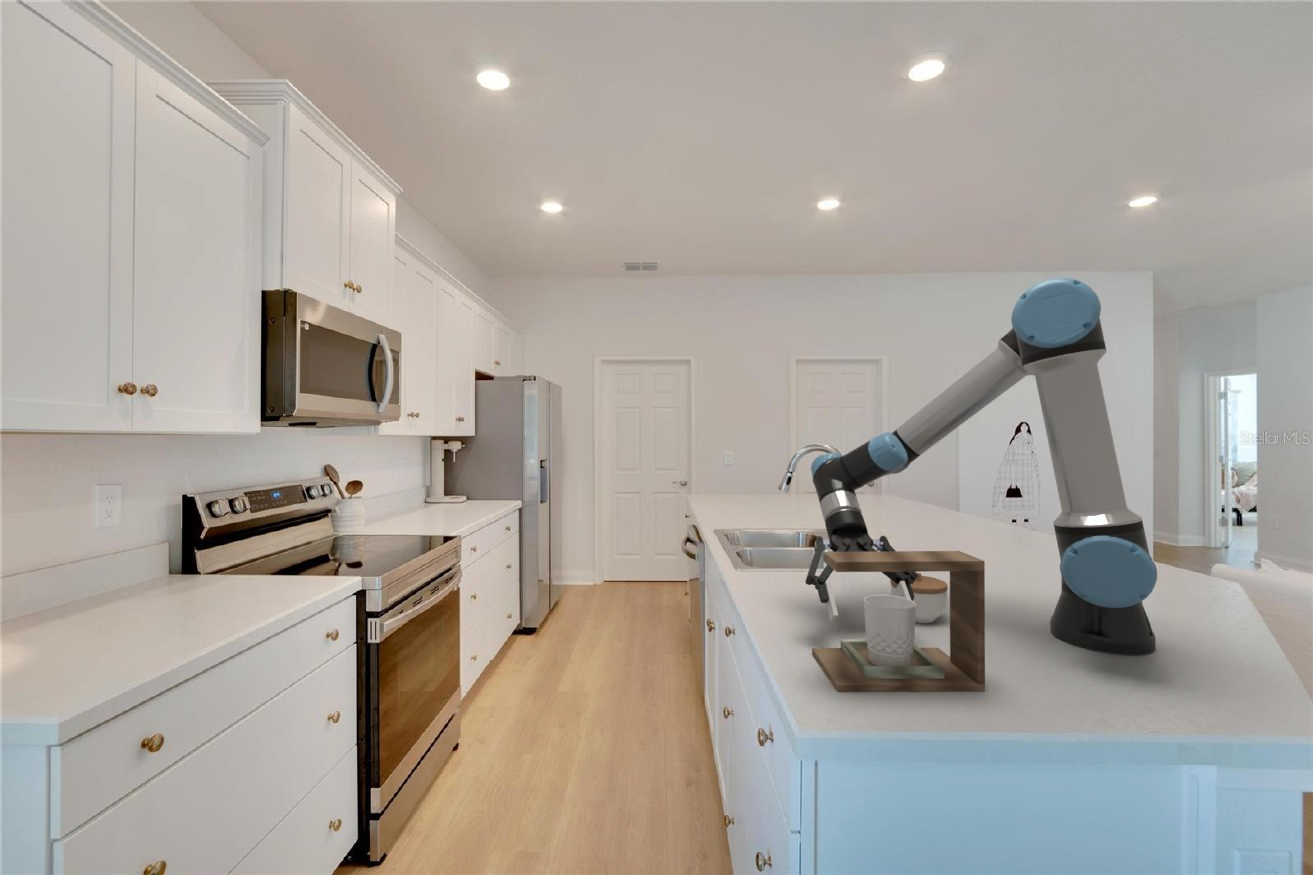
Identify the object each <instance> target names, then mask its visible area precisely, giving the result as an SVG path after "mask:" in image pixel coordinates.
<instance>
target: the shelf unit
mask: <svg viewBox="0 0 1313 875" xmlns="http://www.w3.org/2000/svg"><path fill="white" fill-rule="evenodd" d="M822 562H824V563H825V565H826V566H827V565H829V566H830V567H831V568H832V569H834V570H833V571H835V572H836V573H872V572H873V573H882V572H916V573H921V572H925V573H926V572H949V653H950V654H949V655H948V654H947V653H945V652H944V651H943V650H942V649H940V648H939V647H919V646H918V645H917V644H916V643H914V648H913V664H912V666H875V665H874V664H872V663H871V662H869V659H868V652H867V642H866V638H865V639H864V638H863V639H862V638H861V639H858V638H857V639H856V638H855V639H853V638H852V639H851V638H850V639H845V638H844V639H840V647H812V648H811V655H812V657H814V659H815V660H816V662H817V663H818V665H819V667H821V669H822V671H823V672H824V674H825V675H826V677H827V678H828V679H829V681H830V682H831V684H832V686H833V687H834V688H835V690H836V691H837V692H843V693H844V692H846V691H847V692H849V691H850V692H985V691H986V655H985V654H986V632H985V630H986V625H985V624H986V618H985V615H986V611H985V610H986V609H985V608H986V606H985V605H986V604H985V602H986V600H985V599H986V598H985V596H986V595H985V594H986V592H985V586H986V584H985V574H986V573H985V572H986V571H985V570H986V569H985V568H986V567H985V566H986V565H985V562H986V561H985V560H983V559H980V558H978V557H975V556H973V555H970V554H967V553H966V552H963V551H960V550H921V551H920V550H918V551H917V550H916V551H915V550H908V551H905V550H904V551H903V550H899V551H897V550H895V551H876V552H833V551H823V552H822Z"/></svg>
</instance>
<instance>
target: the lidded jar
mask: <svg viewBox="0 0 1313 875" xmlns="http://www.w3.org/2000/svg"><path fill="white" fill-rule="evenodd" d="M916 573H917V574H918V577H917V579H916V580H915V582H914V583H913V584H910V585H911V588H912V591H913V594H914V600H913V602H915V604H916V616H915V624H916V623H918V624H933V623H934V622H936V620H937V619H938V618H939V617H941V615H942V614H943V613H944V612H945V611H944V610H945V608H946V605H947V601H948V599H947V598H948V587H949V586H948V583H947V582H946V581H944V580H943V579H942V580H941V579H938V578H936V577H931V576H927V575H926V576H925V575H922V573H921V572H916ZM889 579H890V578H889ZM896 587H897V584H896V583H895V582H894V581H892V580H891V579H890V593H891V594H890V595H893V596H898V594H897V591H896Z"/></svg>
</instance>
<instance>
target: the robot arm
mask: <svg viewBox="0 0 1313 875" xmlns="http://www.w3.org/2000/svg"><path fill="white" fill-rule="evenodd" d="M1100 301H1101V300H1100V297H1099V296H1098V294H1097V293H1096V292H1095V291H1094V290H1093V289H1092V288H1091V287H1090V286H1089V285H1087V284H1086V283H1085V282H1082V281H1080V280H1077V279H1075V278H1069V277H1055V278H1050V279H1046V280H1043V281H1040V282H1038V283H1036V284H1034V285H1032V286H1031V287H1029V288H1028V289H1027V290H1025V291H1024V292H1023V293H1022V294H1021V295H1020V296H1019V298H1018V299H1017V301H1016V303H1015V305H1014V307H1013V310H1012V312H1011V326H1012V328H1011V329H1010V330H1009V331H1008V332H1007V333H1005V335H1003V336H1002V337H1001V338H1000V339H998V340H997V341H998V344H997V348H995V349H994V350H993V351H992V352H991V353H989V354H988V355H987V356H986V357H985V358H983V359H982V360H981V361H980V362H979V363H977V364H976V365H974V366H973V367H971V369H969V370H968V371H967V372H966V373H965V374H963V375H962V376H961V377H960V378H958V379H957V380H956V381H955V382H953V383H952V384H951V385H949V387H947V388H946V389H945V390H943V391H942V392H941V393H940V394H939V395H937V396H936V397H935V398H934V399H932V400H931V401H929V402H928V403H927V404H926V405H925V406H923V407H922V408H920V410H918V411H917V412H916V413H915V414H914V415H913V416H911V417H910V418H908V419H907V420H906V421H905V422H904V423H902V424H901V425H900V426H899V427H897V428H896V429H895V430H894V431H893V432H890V431H885V432H883V433H881V434H880V435H877V436H875V437H872V438H870V440H868V441H866V442H864V443H862V444H861V445H860V446H858V447H856V448H855V449H853V450H850V451H849V452H848V453H846V454H843V455H841V454H839V453H838V452H837V453H836V452H828V453H827V454H826V453H825V454H823V453H822V454H820V455H818V456H817V457H815V459H814V460H812V463H811V466H810V467H811V468H810V470H811V475H812V483H813V486H814V488H815V491H816V495H817V498H818V501H819V506H820V509H821V510H820V511H821V514H822V518H823V521H824V523H825V524H824V525H825V529H826V533H827V538H828V539H824V538H823V536H820V535H818V536H816V539H815V542H814V544H813V545H814V546H813V548H814V554H813V558H812V560H811V563H810V565H809V569H808V572H807V575H806V579H805V584H806V585H808V586H811V585H812V586H814V589H815V590H817V593H818V598H819V601H820V602H821V603H822V604H826V610H827V613H828V618H829V621H830V623H836V620H837V619H838V617H839V613H838V608H837V603H836V600H835V596H834V593H833V589H832V585H831V581H827V580H828V579H829V578H830V576H831V575H832V573H833V571H835V570H834V569H832V568H831V567H830V566H829V565H827V564H826V566H825V567H824V569H823V570H822V572H821V573H820V574H819V576H818V575H816V573H817V570H818V568H819V567H818V566H819V564H820V560H821V558H822V556H823V552H825V551H826V549H827V547H828V548H829V549H830V550H832V551H831V552H876V551H896V550H895V549H894V547H893V546H892V545H891V543H890V541H889V539H888V537H887V536H886V535H881V536H880V537H879V538H874V539H873V538H872V537H871V536H870V535H869V531H868V528H867V527H868V526H867V525H866V522H865V519H864V516H863V513H862V509H861V507H860V503H859V500H858V497H857V494H856V490H858V489H860V488H863V487H864V486H866V485H868V484H870V483H872V482H874V481H876V480H879V479H880V478H881V477H885V476H889V475H895V474H900V473H901V472H903V471H904V470H906V469H908V467H909V466H910V465H911V463H913V462H914V461H915V460H917V459H918V458H919V457H920V456H921V455H923V454H924V453H925V452H926V451H928V450H929V449H931V448H932V447H933V446H935V445H936V444H937V443H939V442H940V441H941V440H943V439H944V438H946V437H947V436H948V435H949V434H951V433H952V432H954V431H955V430H956V429H957V428H959V427H960V426H961V425H963V424H964V423H965V422H967V421H969V419H971V418H972V417H973V416H975V415H976V414H978V413H979V412H980V411H981V410H983V409H984V408H985V407H986V406H988V405H989V404H990V403H992V402H994V401H995V400H997V398H998V397H1001V395H1003V394H1004V393H1005V392H1006V391H1008V390H1009V389H1011V387H1013V386H1015V385H1016V384H1017V383H1018V382H1020V381H1021V380H1023V379H1025V377H1027V376H1033V377H1034V376H1035V382H1036V387H1037V393H1038V397H1039V402H1040V408H1041V413H1042V417H1043V423H1044V428H1045V434H1046V438H1047V443H1048V448H1049V453H1050V458H1051V464H1052V469H1053V473H1054V478H1055V483H1056V488H1057V492H1058V498H1059V502H1060V508H1061V512H1060V515H1058V517H1056V518H1055V520H1053V521H1052V522H1053V527H1054V533H1055V534H1054V535H1055V537H1056V538H1055V539H1056V543H1057V548H1058V554H1059V559H1060V563H1059V571H1060V575H1061V592H1060V595H1059V598H1058V600H1057V602H1056V604H1055V605H1056V606H1055V607H1054V611H1053V615H1052V616H1050V623H1049V624H1050V626H1049V627H1050V628H1049V630H1050V633H1051V634H1052V635H1053V636H1054V637H1056V638H1058V639H1059V640H1062V641H1064V642H1066V643H1070V644H1072V645H1074V646H1078V647H1081V648H1084V649H1089V650H1093V651H1098V652H1102V653H1110V654H1115V655H1116V654H1117V655H1125V656H1126V655H1127V656H1140V655H1141V656H1143V655H1150V654H1153V653H1154V652H1155V651H1156V646H1157V644H1156V635H1155V633H1154V631H1153V628H1152V626H1151V623H1150V620H1149V616H1148V615H1147V613H1146V609H1145V608H1144V604H1143V601H1144V600H1146V599H1147V598H1148V597H1149V596H1150V595H1151V594H1152V592H1153V590H1154V588H1155V586H1156V583H1157V580H1158V569H1157V565H1156V563H1155V562H1154V561H1153V558H1152V556H1151V555H1150V550H1149V546H1148V542H1147V536H1146V532H1145V527H1144V523H1143V517H1141V516H1140V515H1138V514H1136V513H1134V512H1133V511H1132V510H1130V508H1128V506H1127V501H1126V496H1125V492H1124V485H1123V481H1122V477H1121V472H1120V467H1119V463H1118V458H1117V454H1116V449H1115V444H1114V438H1113V434H1112V429H1111V424H1110V419H1109V416H1108V410H1107V405H1106V400H1105V396H1104V391H1103V386H1102V380H1101V376H1100V371H1099V366H1098V364H1099V362H1100V361H1101V360H1102V358H1103V357H1104V356H1105V355H1106V353H1107V346H1106V341H1105V337H1104V331H1103V326H1102V323H1101V318H1100V316H1101V310H1102V306H1101V305H1102V304H1101V302H1100ZM875 548H876V549H875ZM881 573H882V574H883V575H884V576H886V577H887V578H888V579H891V580H892V581H894V582H895V583H896V584H897V587H896V591H897V594H898V596H899V597H903V598H907V599H909V600H911V601H913V600H914V594H913V591H912V588H911V585H910V584H913V583H914V582H915V580H916V579H917V577H918V574H917V573H918V572H881Z"/></svg>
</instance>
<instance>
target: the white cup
mask: <svg viewBox="0 0 1313 875" xmlns="http://www.w3.org/2000/svg"><path fill="white" fill-rule="evenodd" d="M863 606H864V608H863V612H864V625H865V626H864V627H865V628H864V629H865V639H866V642H867V652H868V659H869V662H871V663H872V664H874V665H875V666H912V664H913V648H914V644H915V634H916V633H915V632H916V622H915V616H916V604H915V602H913V601H911V600H909V599H907V598H903V597H899V596H893V595H892V594H871V595H867V596H865V597H864V598H863Z"/></svg>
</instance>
